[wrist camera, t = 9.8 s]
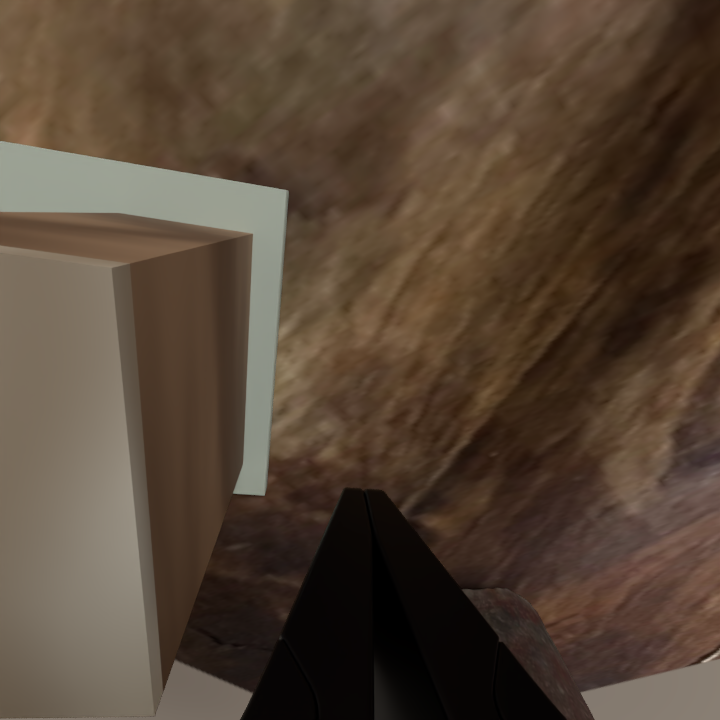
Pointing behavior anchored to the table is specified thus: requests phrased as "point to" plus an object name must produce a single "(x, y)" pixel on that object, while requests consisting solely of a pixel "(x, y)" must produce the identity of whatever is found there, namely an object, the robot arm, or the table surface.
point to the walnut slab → (112, 449)
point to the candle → (531, 647)
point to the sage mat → (186, 205)
